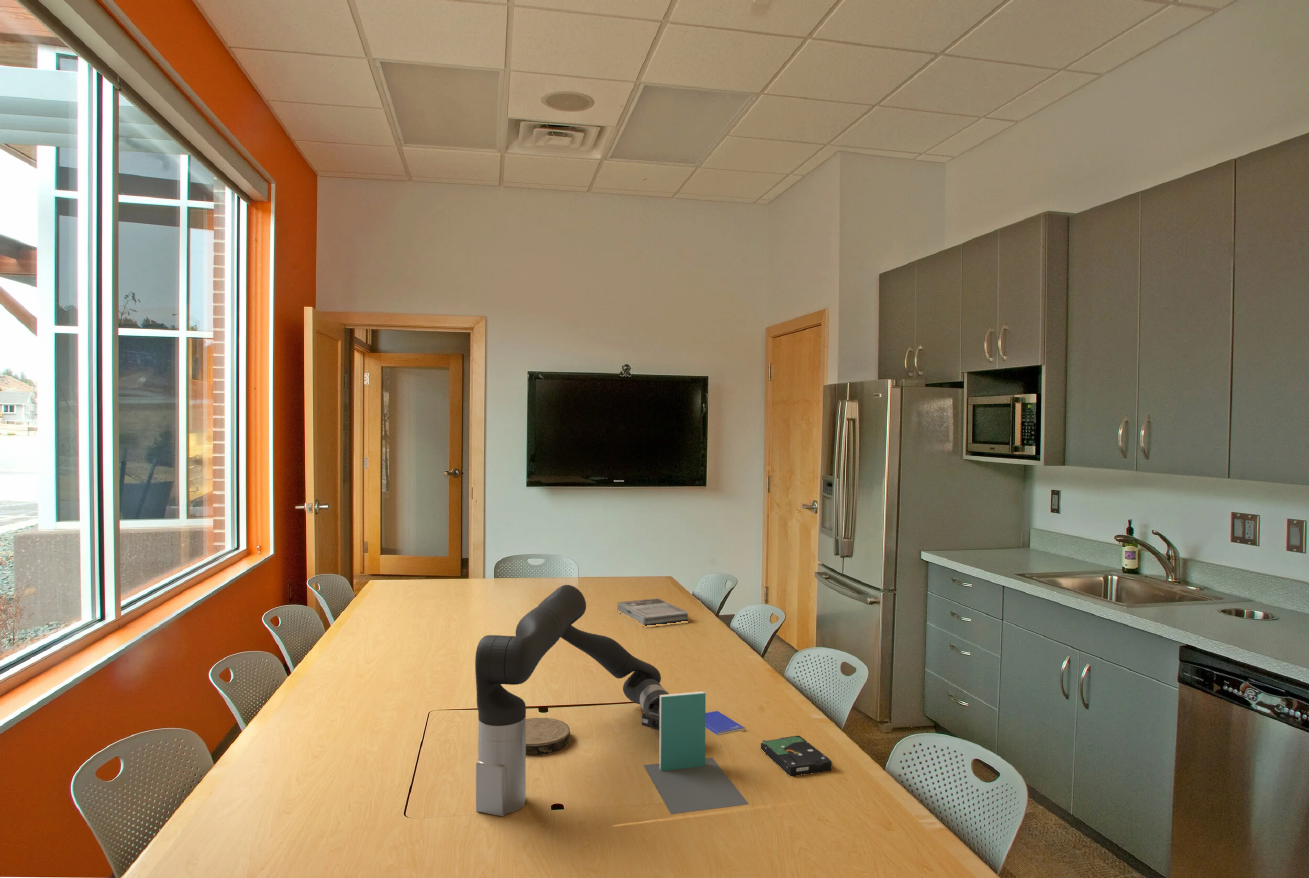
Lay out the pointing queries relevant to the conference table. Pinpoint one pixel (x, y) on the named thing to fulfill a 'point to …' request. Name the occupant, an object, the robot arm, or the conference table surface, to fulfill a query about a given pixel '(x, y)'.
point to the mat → (695, 788)
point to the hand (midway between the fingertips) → (677, 731)
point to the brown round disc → (546, 736)
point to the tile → (682, 730)
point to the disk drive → (796, 756)
